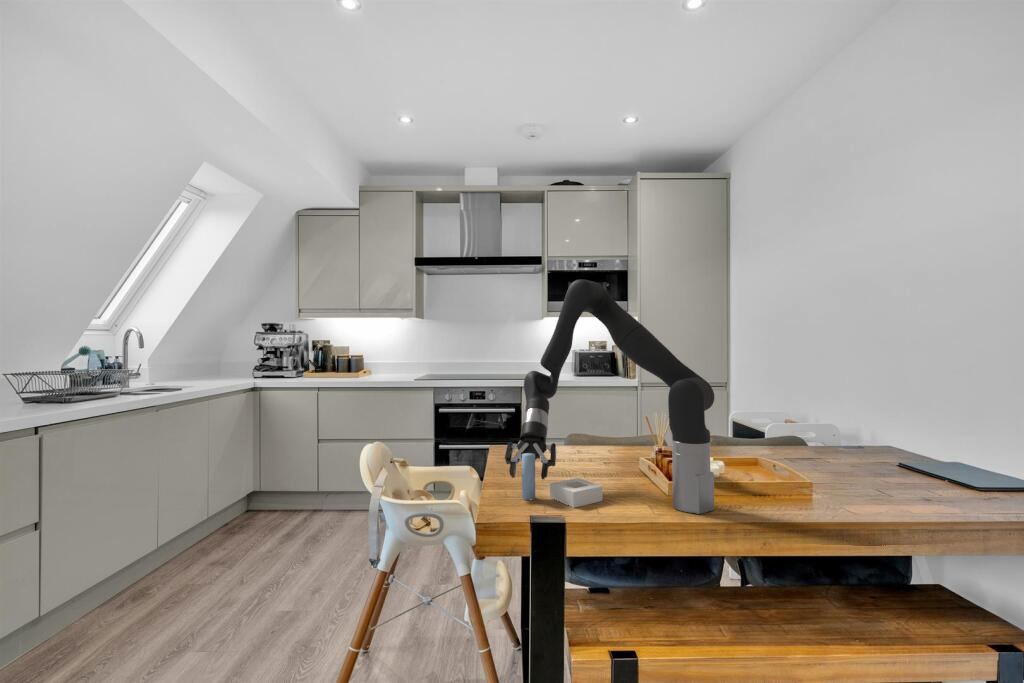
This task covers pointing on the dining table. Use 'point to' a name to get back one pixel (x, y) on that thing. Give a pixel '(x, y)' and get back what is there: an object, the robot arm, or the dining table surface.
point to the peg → (528, 476)
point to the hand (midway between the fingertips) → (527, 477)
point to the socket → (576, 492)
